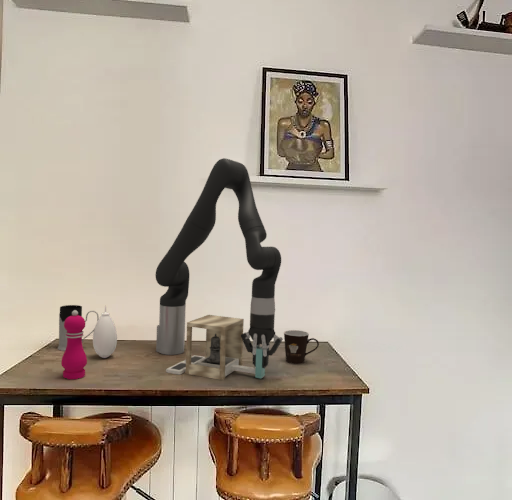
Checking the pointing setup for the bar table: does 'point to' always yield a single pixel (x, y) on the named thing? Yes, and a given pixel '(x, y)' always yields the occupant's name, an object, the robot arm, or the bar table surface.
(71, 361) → the pepper mill
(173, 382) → the bar table surface
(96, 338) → the sauce bottle
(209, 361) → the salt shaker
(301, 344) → the coffee mug
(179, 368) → the pit trap board
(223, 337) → the tunnel
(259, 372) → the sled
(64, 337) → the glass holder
